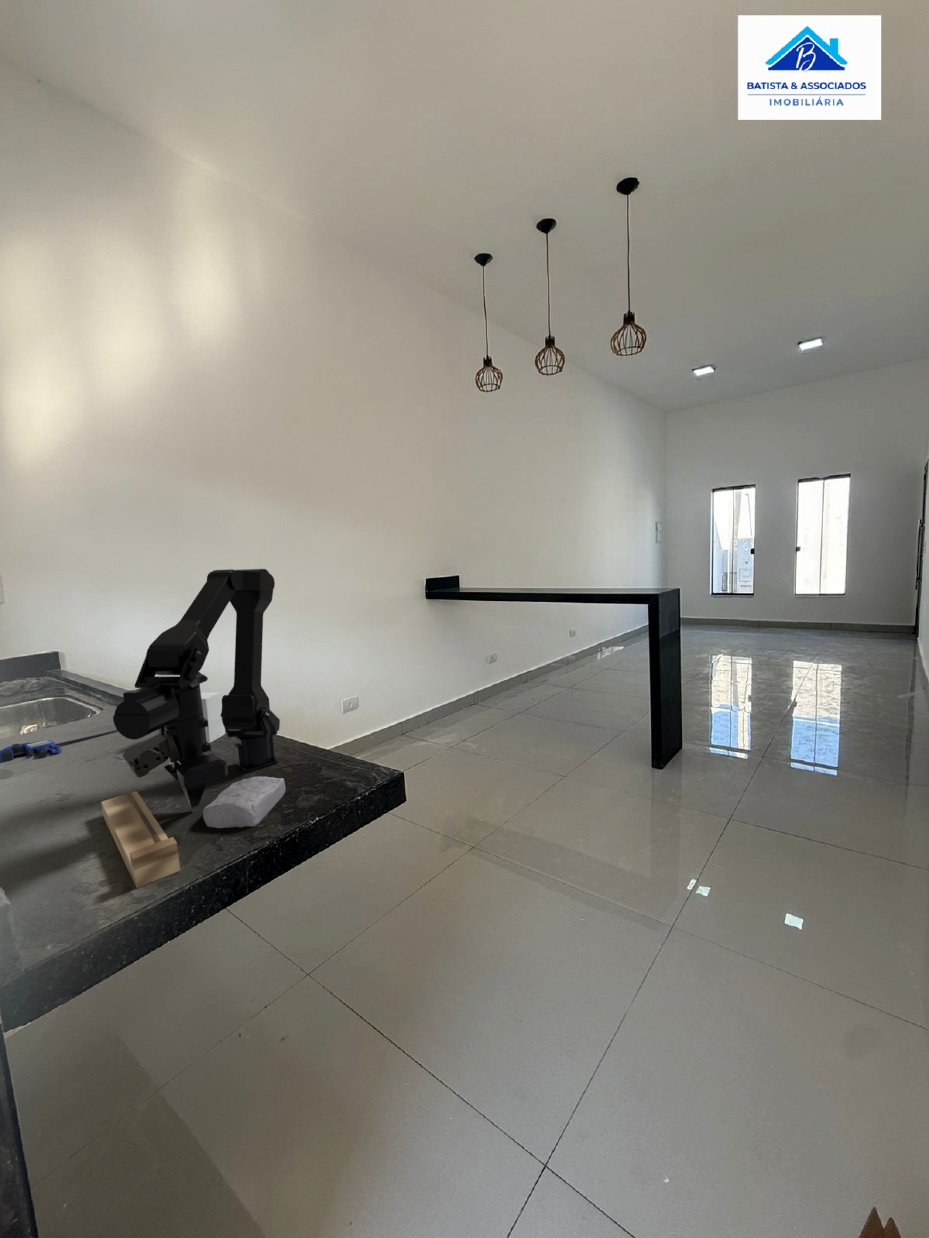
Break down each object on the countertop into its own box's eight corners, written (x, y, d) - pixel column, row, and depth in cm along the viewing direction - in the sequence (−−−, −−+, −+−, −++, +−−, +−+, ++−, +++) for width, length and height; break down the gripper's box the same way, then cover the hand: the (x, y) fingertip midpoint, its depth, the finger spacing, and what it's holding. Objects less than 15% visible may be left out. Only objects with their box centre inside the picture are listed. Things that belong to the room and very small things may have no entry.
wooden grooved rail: (138, 804, 86) (135, 782, 86) (180, 870, 67) (176, 842, 67) (103, 815, 83) (99, 793, 82) (136, 888, 64) (132, 859, 63)
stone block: (200, 840, 78) (260, 828, 77) (191, 811, 78) (251, 798, 77) (239, 804, 90) (292, 793, 89) (232, 779, 90) (284, 768, 89)
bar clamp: (3, 758, 104) (-7, 748, 110) (5, 770, 104) (-6, 759, 110) (170, 720, 129) (154, 713, 135) (171, 729, 130) (155, 722, 136)
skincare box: (226, 733, 120) (222, 691, 119) (210, 743, 114) (205, 699, 113) (186, 733, 122) (181, 691, 120) (167, 743, 115) (162, 699, 114)
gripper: (112, 716, 82) (124, 805, 84) (138, 745, 69) (153, 850, 71) (186, 700, 90) (196, 782, 92) (223, 723, 76) (234, 819, 79)
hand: (194, 806), depth 83 cm, fingers closed
